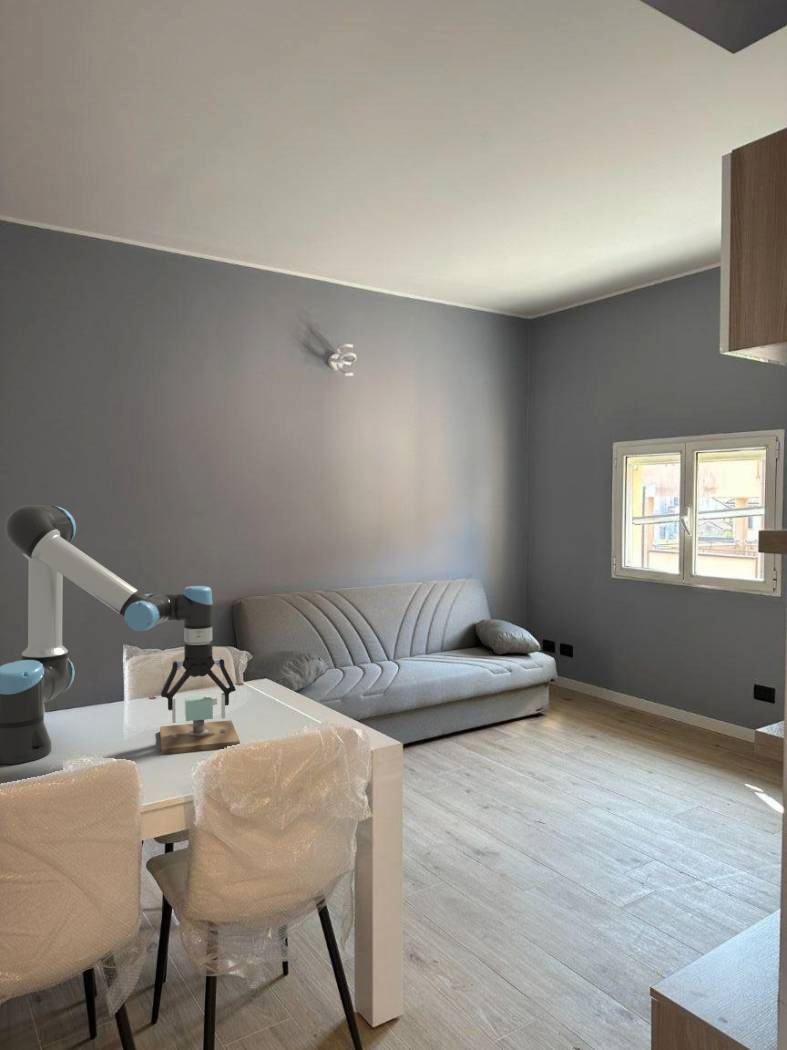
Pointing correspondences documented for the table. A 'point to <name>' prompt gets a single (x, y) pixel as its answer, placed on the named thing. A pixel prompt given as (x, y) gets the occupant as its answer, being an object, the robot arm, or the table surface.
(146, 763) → the table surface
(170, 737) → the walnut base
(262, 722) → the table surface
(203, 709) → the cap
